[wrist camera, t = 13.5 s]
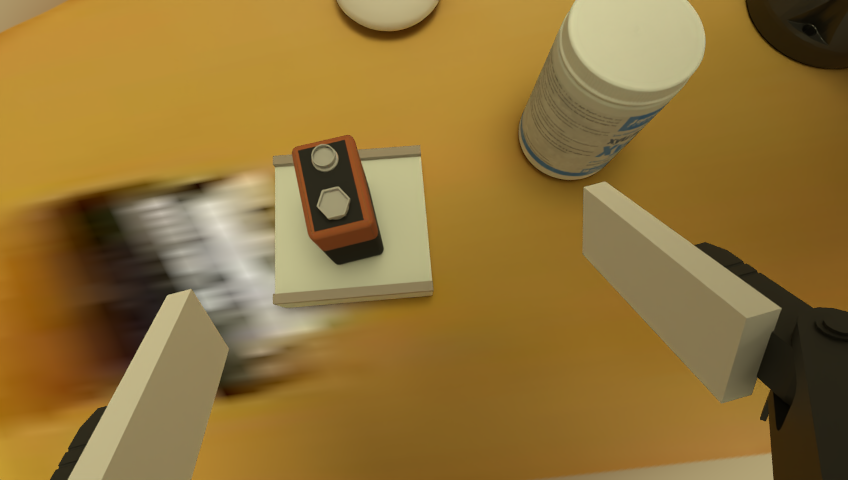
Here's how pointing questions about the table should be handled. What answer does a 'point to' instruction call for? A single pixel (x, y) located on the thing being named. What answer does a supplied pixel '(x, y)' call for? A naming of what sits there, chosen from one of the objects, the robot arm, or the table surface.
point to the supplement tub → (607, 81)
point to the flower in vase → (387, 12)
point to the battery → (337, 200)
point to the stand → (367, 278)
